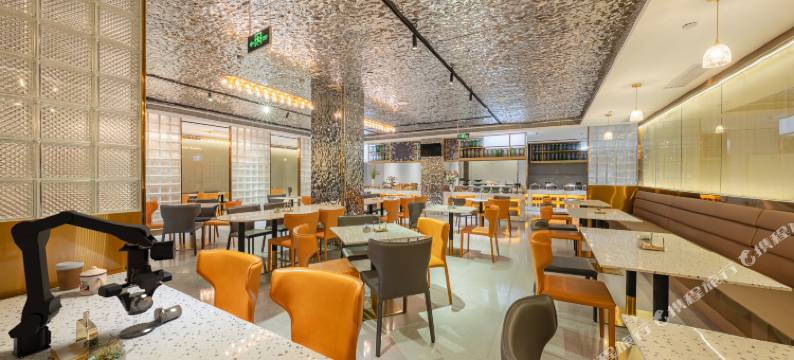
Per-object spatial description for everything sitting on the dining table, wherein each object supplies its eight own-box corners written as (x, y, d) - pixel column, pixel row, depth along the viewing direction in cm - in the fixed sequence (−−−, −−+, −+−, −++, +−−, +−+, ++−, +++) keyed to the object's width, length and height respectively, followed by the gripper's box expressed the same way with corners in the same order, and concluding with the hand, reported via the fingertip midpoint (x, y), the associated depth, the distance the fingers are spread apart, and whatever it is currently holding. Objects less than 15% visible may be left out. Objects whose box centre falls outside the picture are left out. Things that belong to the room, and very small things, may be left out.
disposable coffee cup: (87, 287, 143) (87, 262, 143) (57, 293, 135) (57, 267, 134) (81, 283, 148) (81, 259, 148) (52, 289, 140) (52, 263, 140)
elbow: (124, 313, 101) (124, 295, 101) (142, 307, 106) (142, 290, 106) (137, 318, 97) (138, 300, 97) (156, 312, 102) (156, 294, 102)
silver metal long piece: (128, 341, 96) (128, 323, 96) (114, 334, 100) (114, 318, 100) (185, 318, 112) (185, 303, 112) (171, 313, 116) (171, 299, 116)
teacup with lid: (74, 294, 134) (74, 268, 134) (100, 287, 143) (100, 262, 143) (89, 298, 130) (89, 271, 130) (115, 290, 139) (115, 265, 139)
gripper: (114, 273, 90) (114, 325, 90) (181, 259, 107) (181, 302, 107) (97, 268, 95) (96, 317, 95) (163, 255, 112) (163, 297, 112)
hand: (137, 308), depth 102 cm, fingers closed on elbow, 5 cm apart
